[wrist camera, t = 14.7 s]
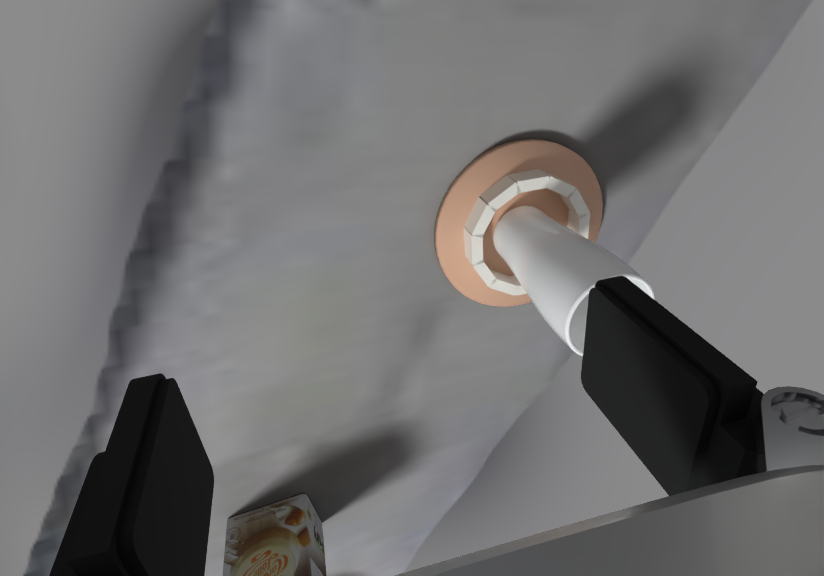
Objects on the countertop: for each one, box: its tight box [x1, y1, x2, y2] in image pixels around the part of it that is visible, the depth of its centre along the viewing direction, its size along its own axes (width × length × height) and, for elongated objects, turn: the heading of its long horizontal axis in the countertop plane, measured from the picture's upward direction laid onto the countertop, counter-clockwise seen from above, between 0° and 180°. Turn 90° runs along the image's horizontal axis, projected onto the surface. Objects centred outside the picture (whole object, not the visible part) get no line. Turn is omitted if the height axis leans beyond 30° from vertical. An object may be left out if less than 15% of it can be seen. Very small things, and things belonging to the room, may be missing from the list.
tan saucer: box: [434, 139, 603, 306], centre depth 47 cm, size 16×16×3 cm
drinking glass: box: [493, 206, 655, 356], centre depth 41 cm, size 7×7×15 cm
